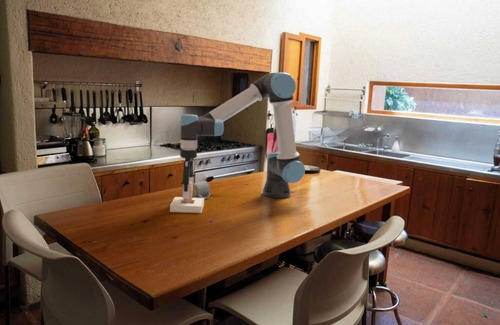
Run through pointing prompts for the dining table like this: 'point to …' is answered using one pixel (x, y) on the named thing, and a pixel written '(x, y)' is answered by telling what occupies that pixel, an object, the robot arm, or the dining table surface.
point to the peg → (189, 200)
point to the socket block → (187, 205)
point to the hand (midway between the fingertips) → (187, 194)
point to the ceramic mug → (201, 190)
